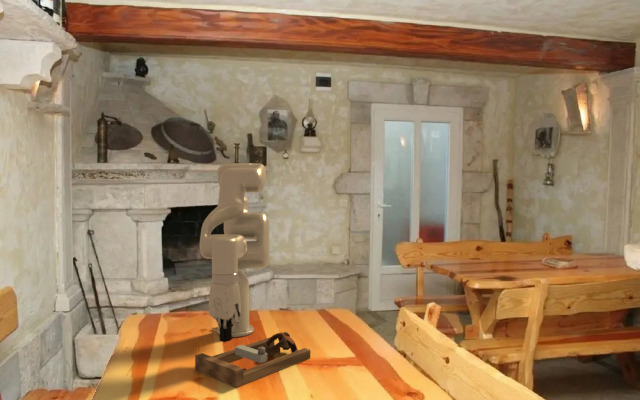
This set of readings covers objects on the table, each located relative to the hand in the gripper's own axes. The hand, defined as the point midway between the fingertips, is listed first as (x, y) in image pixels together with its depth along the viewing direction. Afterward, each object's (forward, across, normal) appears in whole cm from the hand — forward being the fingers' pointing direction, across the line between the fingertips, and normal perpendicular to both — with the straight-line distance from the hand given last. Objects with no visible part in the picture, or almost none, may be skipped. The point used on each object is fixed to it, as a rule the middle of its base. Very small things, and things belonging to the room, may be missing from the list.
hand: (225, 340), depth 157 cm
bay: (+6, +9, +4) cm, 12 cm away
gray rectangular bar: (+3, +10, +1) cm, 11 cm away
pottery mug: (+6, +11, +13) cm, 18 cm away
